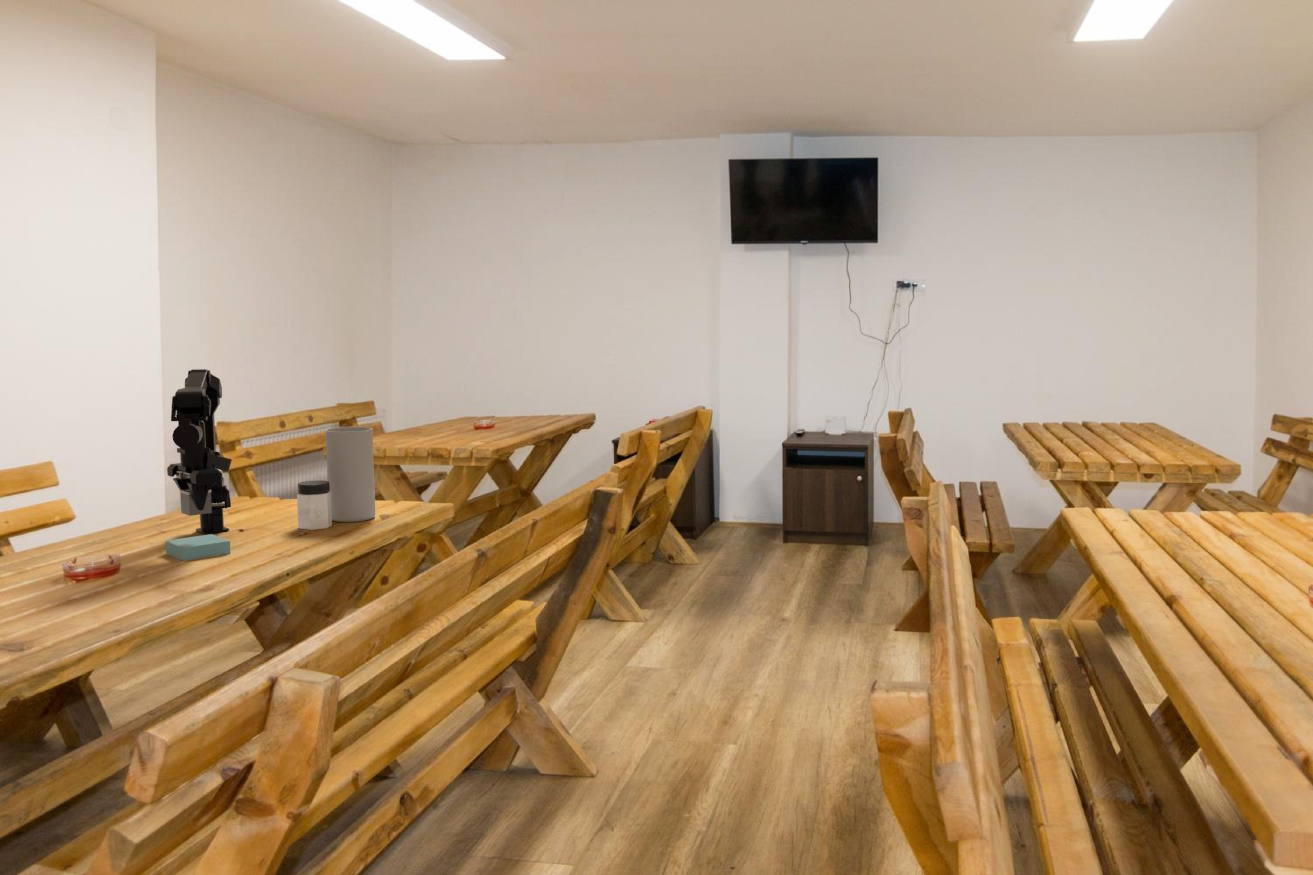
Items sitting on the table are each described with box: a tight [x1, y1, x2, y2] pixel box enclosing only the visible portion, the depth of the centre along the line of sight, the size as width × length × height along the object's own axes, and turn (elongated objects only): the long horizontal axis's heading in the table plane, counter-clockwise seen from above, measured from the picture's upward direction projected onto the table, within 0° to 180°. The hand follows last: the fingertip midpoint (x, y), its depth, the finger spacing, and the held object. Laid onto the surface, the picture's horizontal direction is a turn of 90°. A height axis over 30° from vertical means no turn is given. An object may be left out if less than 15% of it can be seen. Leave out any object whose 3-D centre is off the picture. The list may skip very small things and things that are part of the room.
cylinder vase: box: [324, 426, 376, 523], centre depth 304 cm, size 12×12×25 cm
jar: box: [296, 480, 333, 531], centre depth 293 cm, size 9×8×12 cm
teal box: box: [165, 533, 231, 562], centre depth 262 cm, size 11×11×4 cm
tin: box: [179, 489, 213, 517], centre depth 261 cm, size 5×5×6 cm
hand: (196, 508), depth 261 cm, fingers closed on tin, 5 cm apart
